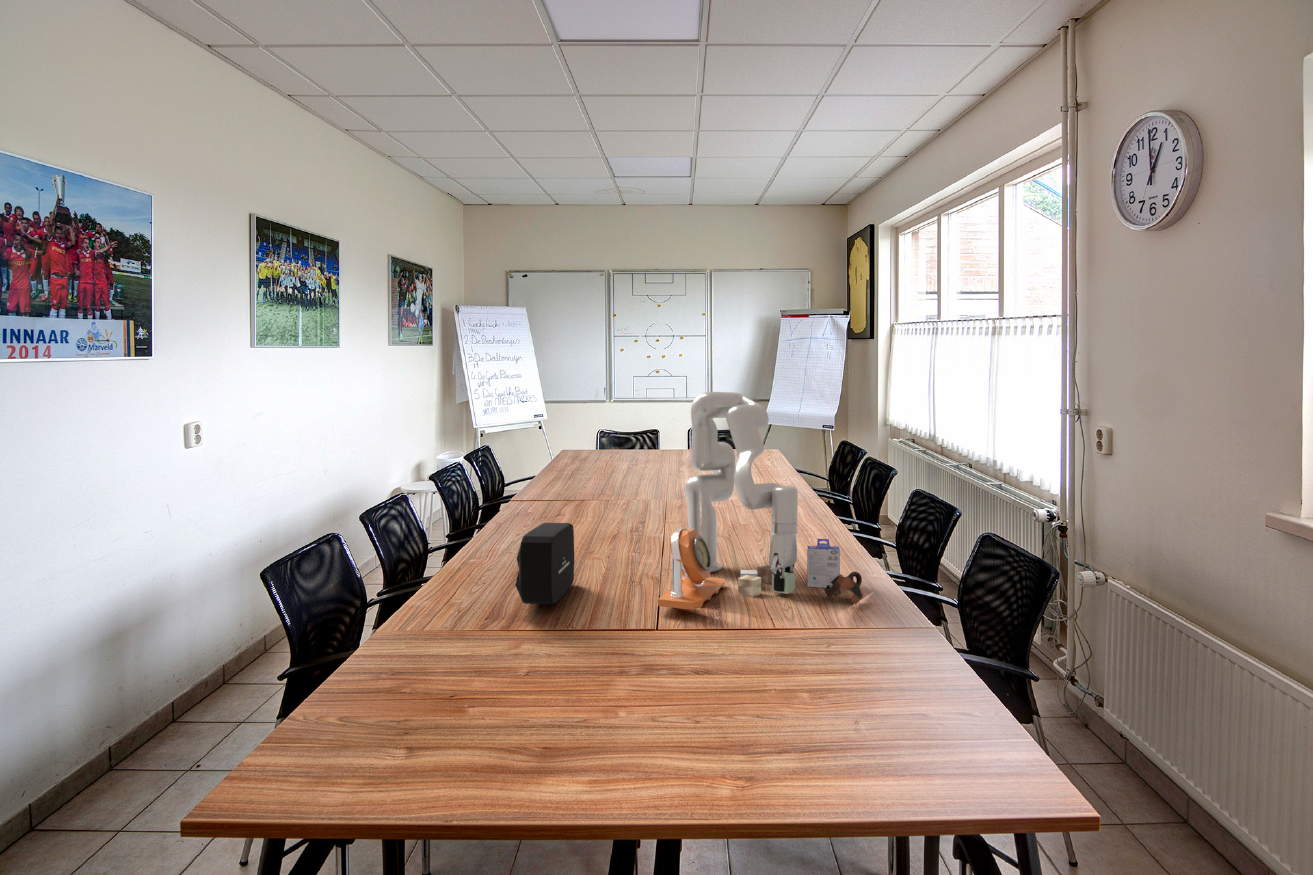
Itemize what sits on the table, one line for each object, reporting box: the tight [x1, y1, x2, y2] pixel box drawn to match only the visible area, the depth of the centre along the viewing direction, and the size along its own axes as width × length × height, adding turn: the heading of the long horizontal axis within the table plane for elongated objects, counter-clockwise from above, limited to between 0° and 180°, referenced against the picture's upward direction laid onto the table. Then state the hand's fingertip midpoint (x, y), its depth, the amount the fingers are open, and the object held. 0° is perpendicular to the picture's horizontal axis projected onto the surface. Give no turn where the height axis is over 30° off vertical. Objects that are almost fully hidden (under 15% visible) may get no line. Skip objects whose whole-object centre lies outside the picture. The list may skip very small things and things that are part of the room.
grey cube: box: [740, 569, 758, 577], centre depth 218 cm, size 5×5×5 cm
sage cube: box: [771, 570, 796, 595], centre depth 209 cm, size 5×5×5 cm
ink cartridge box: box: [806, 538, 841, 588], centre depth 220 cm, size 10×6×14 cm, turn 79°
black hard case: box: [515, 522, 575, 605], centre depth 210 cm, size 30×12×20 cm, turn 174°
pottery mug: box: [823, 571, 864, 606], centre depth 203 cm, size 12×9×8 cm
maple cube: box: [737, 575, 762, 598], centre depth 210 cm, size 5×5×5 cm
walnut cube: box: [756, 564, 781, 585], centre depth 224 cm, size 5×5×5 cm
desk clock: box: [657, 527, 726, 610], centre depth 208 cm, size 12×30×20 cm, turn 159°
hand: (783, 588), depth 209 cm, fingers closed on sage cube, 5 cm apart
